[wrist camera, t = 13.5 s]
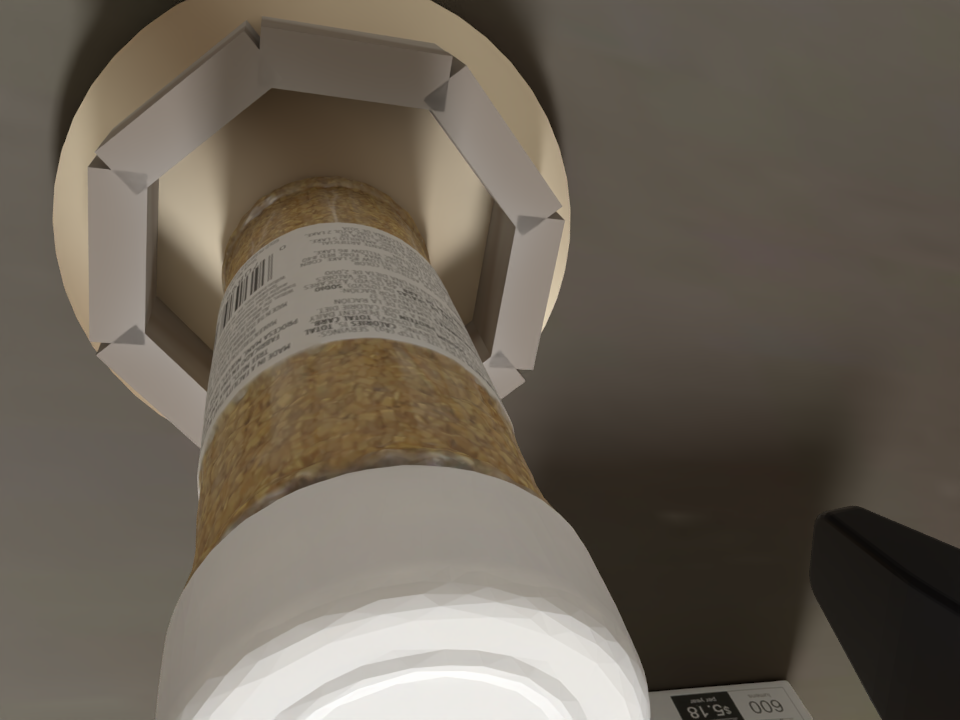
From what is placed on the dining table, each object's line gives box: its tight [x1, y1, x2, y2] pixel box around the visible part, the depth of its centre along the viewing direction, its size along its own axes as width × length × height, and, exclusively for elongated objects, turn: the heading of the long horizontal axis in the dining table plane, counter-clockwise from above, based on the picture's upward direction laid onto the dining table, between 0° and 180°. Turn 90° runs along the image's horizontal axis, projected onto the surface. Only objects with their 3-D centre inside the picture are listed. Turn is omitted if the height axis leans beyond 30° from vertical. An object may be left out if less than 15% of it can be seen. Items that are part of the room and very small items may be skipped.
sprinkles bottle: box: [155, 176, 650, 720], centre depth 14 cm, size 5×5×13 cm
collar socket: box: [53, 0, 570, 448], centre depth 19 cm, size 11×11×3 cm
